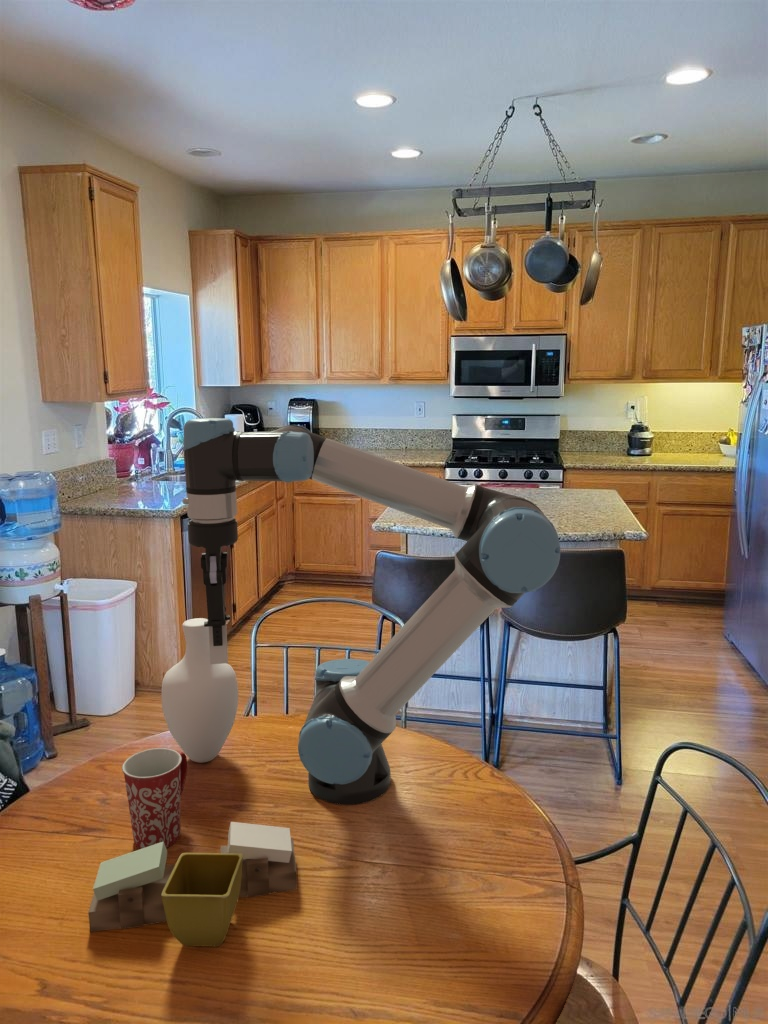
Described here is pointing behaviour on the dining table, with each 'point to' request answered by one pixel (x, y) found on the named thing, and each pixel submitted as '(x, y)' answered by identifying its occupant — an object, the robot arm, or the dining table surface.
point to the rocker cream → (260, 841)
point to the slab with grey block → (130, 906)
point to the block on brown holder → (267, 875)
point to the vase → (199, 697)
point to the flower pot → (202, 897)
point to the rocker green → (130, 870)
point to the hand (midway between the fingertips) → (219, 661)
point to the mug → (155, 795)
